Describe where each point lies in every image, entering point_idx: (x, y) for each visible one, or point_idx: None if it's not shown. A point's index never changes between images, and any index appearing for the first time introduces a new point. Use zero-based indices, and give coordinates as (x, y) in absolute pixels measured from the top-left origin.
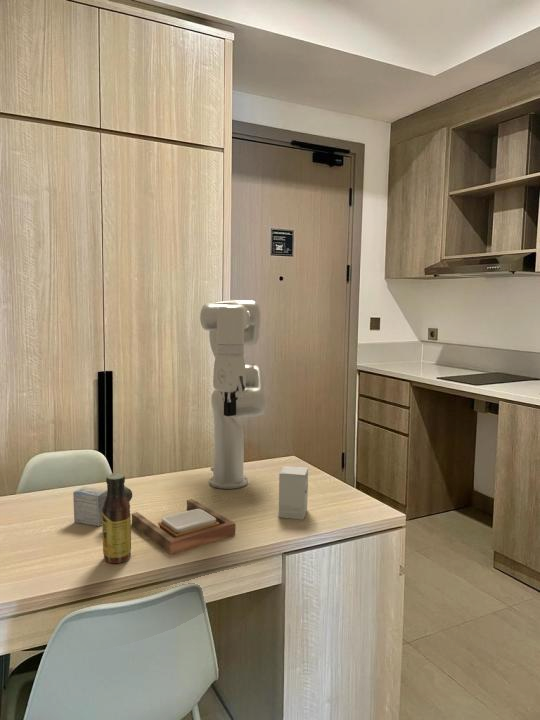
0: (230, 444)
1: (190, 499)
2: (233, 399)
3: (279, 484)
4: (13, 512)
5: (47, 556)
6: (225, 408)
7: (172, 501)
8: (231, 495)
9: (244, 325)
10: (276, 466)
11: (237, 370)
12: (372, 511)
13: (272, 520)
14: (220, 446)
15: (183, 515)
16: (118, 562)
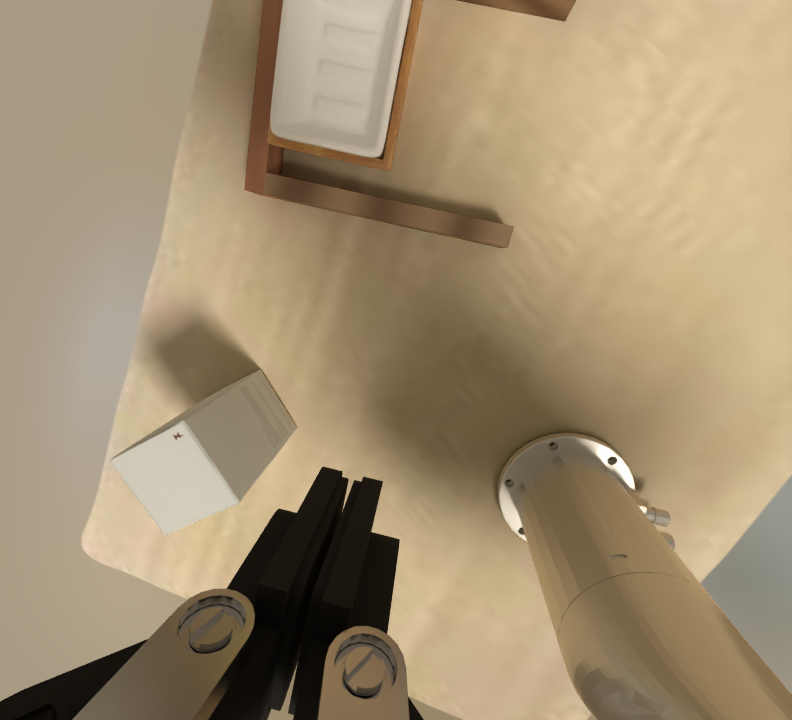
0: (575, 570)
1: (505, 238)
2: (112, 667)
3: (206, 403)
4: None
5: None
6: (336, 529)
7: (605, 250)
8: (479, 413)
9: None
10: (534, 676)
11: None
12: (132, 538)
13: (258, 342)
14: (619, 542)
15: (385, 78)
16: None
